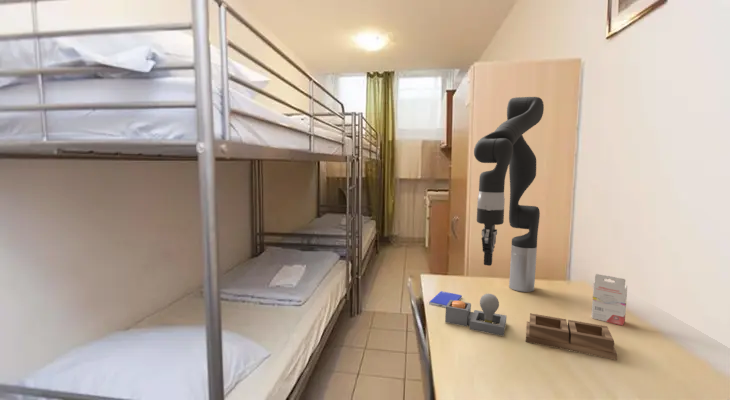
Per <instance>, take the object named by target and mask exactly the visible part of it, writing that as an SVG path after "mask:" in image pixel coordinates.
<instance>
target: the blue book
mask: <svg viewBox="0 0 730 400" xmlns="http://www.w3.org/2000/svg"><path fill="white" fill-rule="evenodd" d="M462 298H463V295H462V294H458V293H453V292H448V291H442V290H441V291H439V292H438V293H437V294H436V295H435V296H434V297H433V298H432V299H431V300H430V301H429V302H428V304H429V305H432V306H436V307H437V306H438V307H442V308H445V309H446V306H447V304H448V303H449V301H450V300H455V301H461V300H462Z"/></svg>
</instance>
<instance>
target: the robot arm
mask: <svg viewBox="0 0 730 400" xmlns="http://www.w3.org/2000/svg"><path fill="white" fill-rule="evenodd" d="M544 107H545V106H544V101H543V99H542V98H540V97H539V96H522V97H521V96H519V97H517V96H515V97H512V98H510V99H509V101H508V103H507V107H506V118H507V119H506V120H505V121H504V122H502V123H501V124H500V125H498V127H497V128H496V129H495V130H494V131H493V132H491V133H488V134H487V135H484V136H482V137H481V138H480V139H479V140H478V141H477V142H476V144H475V146H474V148H473V156H474V157H475V159H476V160H477V162H479V163H484V164H495V166H494V168H493V169H492V170H487V171H483V172H481V173H480V175H479V181H478V182H479V183H478V196H477V203H476V205H477V206H476V222H477V223H478V224H482V225H484V227H483V229H481V236H482V237H481V245H482V252H483V265H484V266H489V267H490V266H492V264H493V257H494V255H493V254H494V253H493V252H494V251H495V244H496V240H497V238H496V237H497V234H498V229H496V226H498V225H503V224H504V223H505V221H504V219H505V218H504V217H505V199H506V198H505V185H506V184H505V183H506V175H507V172H508V173H509V175H508V176H509V206H508V207H509V210H508V211H509V212H508V223H509V226H510V227H511V228H514V229H522V230H528V231H527V233H525V234H522V235H518V236H514V237H512V238H511V247H510V248H511V250H510V263H509V264H510V265H509V266H510V267H509V279H508V281H509V283H508V284H509V285H508V287H509V289H511V290H514V291H517V292H525V293H531V292H534V291H535V285H536V284H535V283H536V281H535V280H536V266H537V250H538V249H537V248H538V235H539V234H538V233H539V225H540V217H541V216H540V215H541V213H540V207H538V206H535V205H523V204H519V202H520V200H521V198H522V196H523V195H524V193H525V192H526V191H527V189H528V188H529V187H530V186H531V184H532V183H533V182H534V180H535V179H536V177H537V157H536V155H535V153H534V151H533V150H532V148H531V147H530V145H529V144H528V142H527V141H526V140H525V137H524V136H523V134H525V133H527V132H528V131H529V130H531V128H533V127H535V126H536V125H537V124H538V123H540V121H541V120H542V118H543V116H544V115H543V114H544V110H545V109H544ZM508 168H509V171H508Z"/></svg>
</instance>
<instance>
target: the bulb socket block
mask: <svg viewBox="0 0 730 400" xmlns="http://www.w3.org/2000/svg"><path fill="white" fill-rule="evenodd" d="M453 301H455V300H450V301H449V303H448V304H447V306H446V308H445V321H444V323H448V324H452V325H457V326H462V327H469V330H471V331H476V332H482V333H485V334H486V333H487V334H491V335H496V336H501V337H504V336H505V330H506V326H507V315H506V314H500V313H496V312H495V313H494V315H493V320H492V323H488V322H485V314H484V312H483V310H478V309H474V310H473V311H471V309H472V303H471V302H465V301H464V302H465V309H462V308H456V307H452V302H453Z"/></svg>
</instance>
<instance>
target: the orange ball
mask: <svg viewBox="0 0 730 400" xmlns="http://www.w3.org/2000/svg"><path fill="white" fill-rule="evenodd" d="M452 307H456V308H462V309H465V301H462V300H460V301H453V302H452Z"/></svg>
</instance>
